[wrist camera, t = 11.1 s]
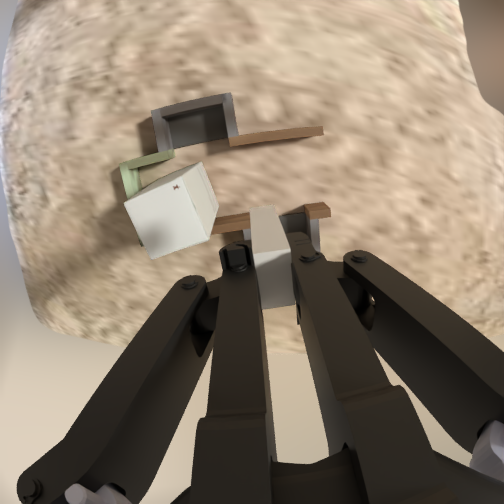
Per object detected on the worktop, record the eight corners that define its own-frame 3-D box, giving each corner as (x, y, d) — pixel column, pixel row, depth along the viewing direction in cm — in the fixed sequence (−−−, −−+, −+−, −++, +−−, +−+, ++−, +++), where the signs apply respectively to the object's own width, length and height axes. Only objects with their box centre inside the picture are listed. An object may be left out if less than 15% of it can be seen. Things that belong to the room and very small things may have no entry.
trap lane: (121, 123, 34) (111, 123, 30) (310, 87, 32) (316, 83, 29) (158, 270, 44) (152, 281, 40) (326, 245, 42) (332, 254, 39)
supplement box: (155, 179, 37) (120, 201, 26) (202, 160, 37) (183, 173, 25) (174, 224, 40) (149, 262, 29) (220, 207, 40) (211, 240, 28)
